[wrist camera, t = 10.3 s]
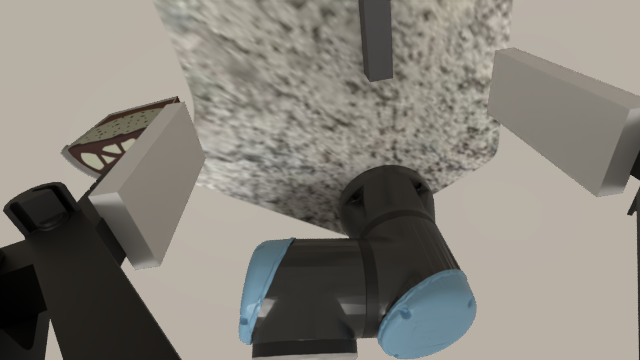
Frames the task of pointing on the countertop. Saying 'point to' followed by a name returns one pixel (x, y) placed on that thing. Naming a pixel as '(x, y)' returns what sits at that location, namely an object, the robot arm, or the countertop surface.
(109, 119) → the food container
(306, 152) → the countertop surface
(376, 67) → the rail
